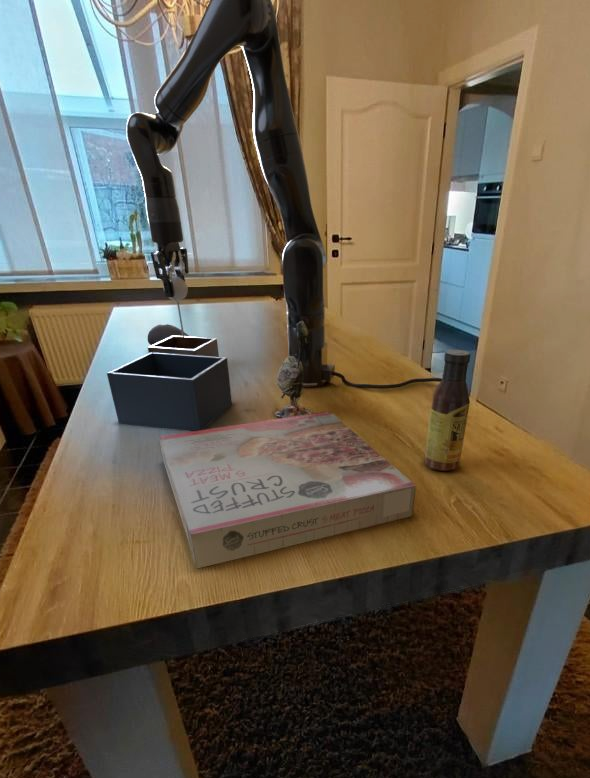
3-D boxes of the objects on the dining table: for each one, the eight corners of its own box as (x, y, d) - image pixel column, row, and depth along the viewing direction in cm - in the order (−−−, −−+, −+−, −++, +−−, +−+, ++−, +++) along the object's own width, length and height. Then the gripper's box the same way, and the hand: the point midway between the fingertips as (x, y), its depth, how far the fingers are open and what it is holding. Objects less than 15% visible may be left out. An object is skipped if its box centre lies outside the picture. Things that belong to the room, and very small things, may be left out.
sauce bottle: (451, 476, 85) (469, 360, 74) (418, 467, 88) (430, 353, 77) (464, 462, 90) (483, 350, 79) (432, 453, 92) (446, 345, 82)
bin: (232, 403, 114) (227, 357, 108) (200, 431, 100) (192, 380, 95) (159, 397, 117) (150, 352, 112) (118, 423, 104) (106, 373, 98)
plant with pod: (305, 404, 114) (303, 313, 103) (316, 422, 105) (315, 324, 94) (270, 407, 112) (264, 314, 102) (278, 426, 103) (273, 326, 92)
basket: (219, 363, 142) (216, 338, 138) (198, 377, 131) (195, 350, 127) (176, 360, 145) (172, 335, 141) (152, 373, 133) (147, 347, 130)
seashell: (148, 362, 151) (142, 336, 146) (153, 340, 166) (148, 315, 161) (196, 359, 154) (191, 333, 149) (196, 337, 168) (192, 313, 163)
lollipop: (199, 336, 134) (190, 275, 126) (183, 340, 130) (173, 278, 122) (183, 333, 137) (174, 274, 129) (167, 337, 133) (156, 276, 125)
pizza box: (329, 411, 96) (415, 485, 71) (329, 436, 99) (412, 516, 74) (158, 436, 85) (190, 534, 60) (164, 464, 88) (196, 568, 63)
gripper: (163, 220, 112) (176, 300, 121) (192, 219, 124) (202, 291, 133) (133, 220, 114) (148, 299, 122) (165, 218, 125) (176, 290, 134)
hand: (176, 294), depth 128 cm, fingers closed on lollipop, 6 cm apart
